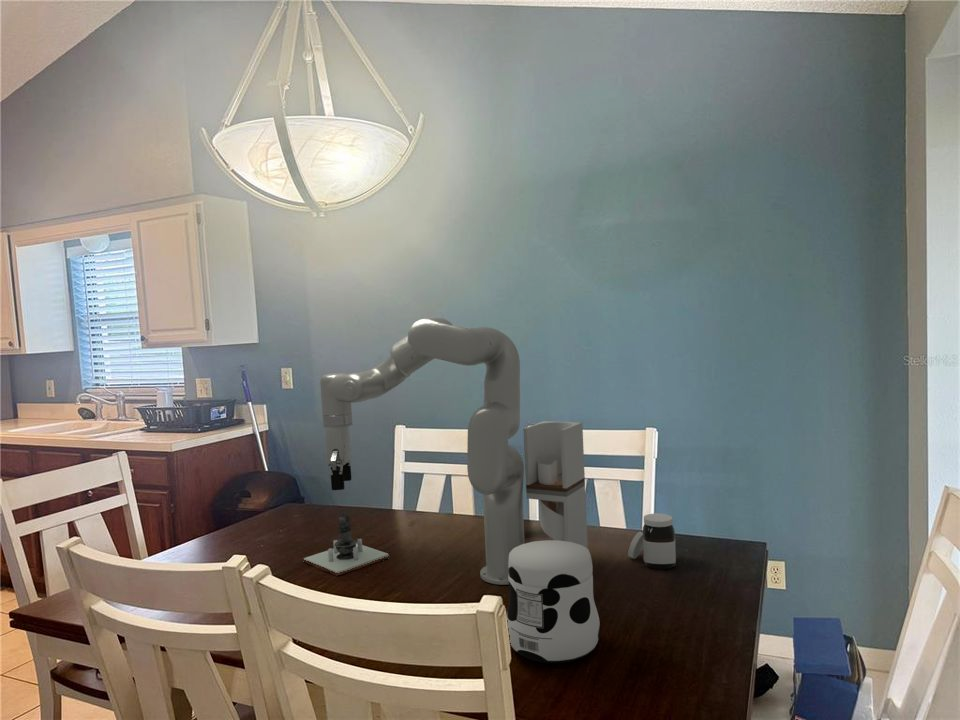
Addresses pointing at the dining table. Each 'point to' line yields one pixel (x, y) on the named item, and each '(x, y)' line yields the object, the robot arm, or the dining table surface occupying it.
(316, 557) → the pin tray
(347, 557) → the salt shaker
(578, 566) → the milk container
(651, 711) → the dining table surface
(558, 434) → the open shelf unit
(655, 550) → the spread jar
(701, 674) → the dining table surface
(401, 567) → the dining table surface
